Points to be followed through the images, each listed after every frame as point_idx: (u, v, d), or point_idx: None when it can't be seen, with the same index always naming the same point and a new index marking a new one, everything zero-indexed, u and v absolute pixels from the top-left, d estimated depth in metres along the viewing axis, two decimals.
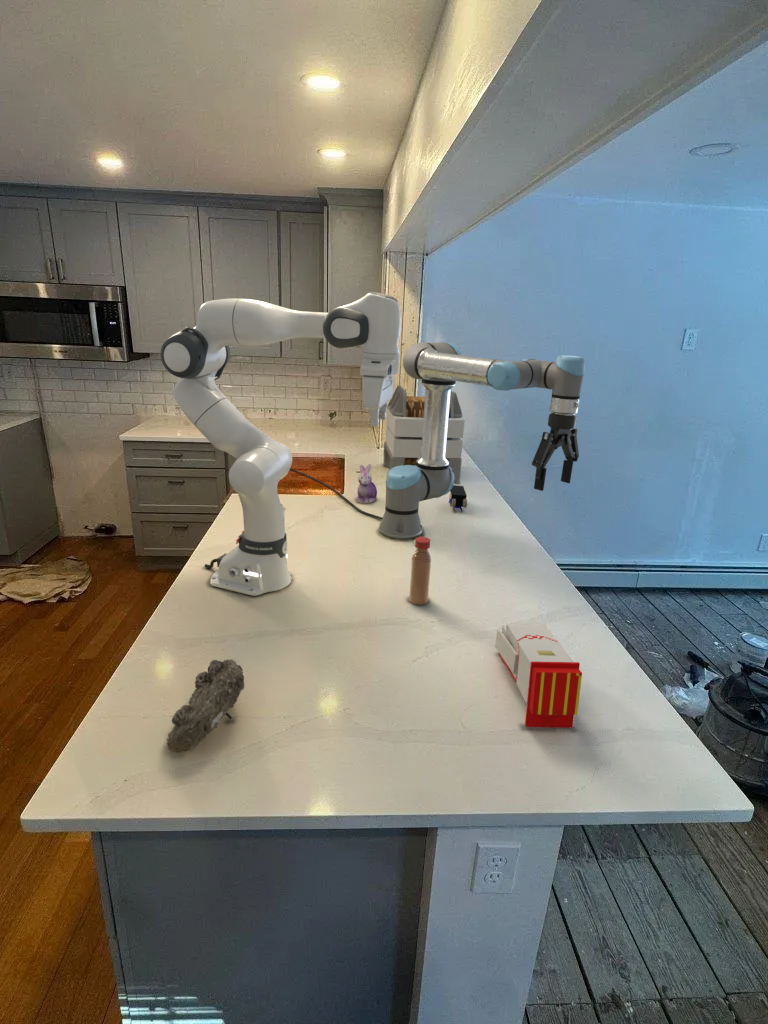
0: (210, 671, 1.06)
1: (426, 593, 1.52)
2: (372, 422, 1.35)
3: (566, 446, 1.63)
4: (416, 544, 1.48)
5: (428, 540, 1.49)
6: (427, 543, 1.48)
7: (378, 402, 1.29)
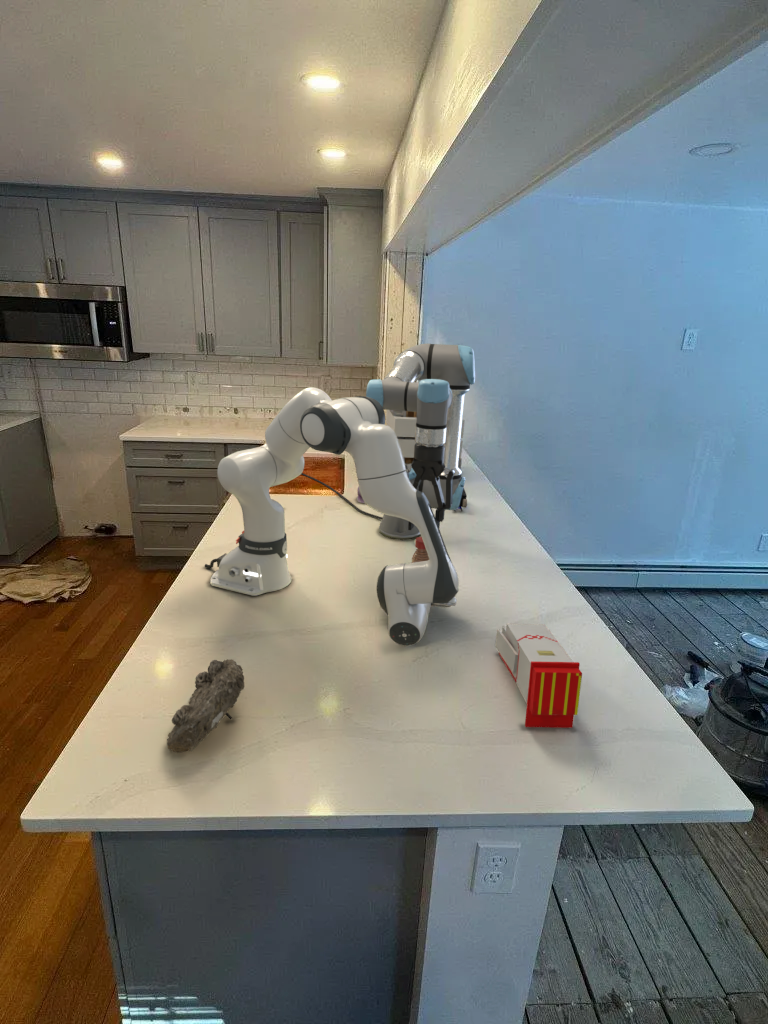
0: (210, 671, 1.06)
1: None
2: None
3: (420, 481, 1.45)
4: (416, 544, 1.48)
5: None
6: None
7: None
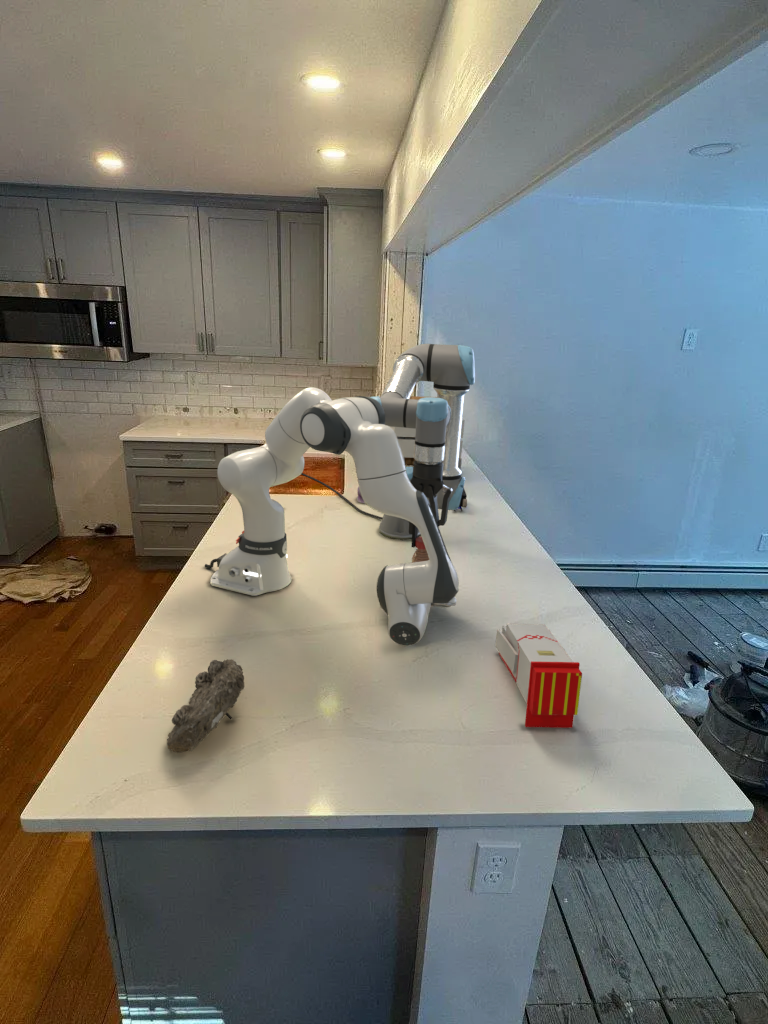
0: (210, 671, 1.06)
1: None
2: None
3: None
4: (416, 544, 1.48)
5: None
6: None
7: None
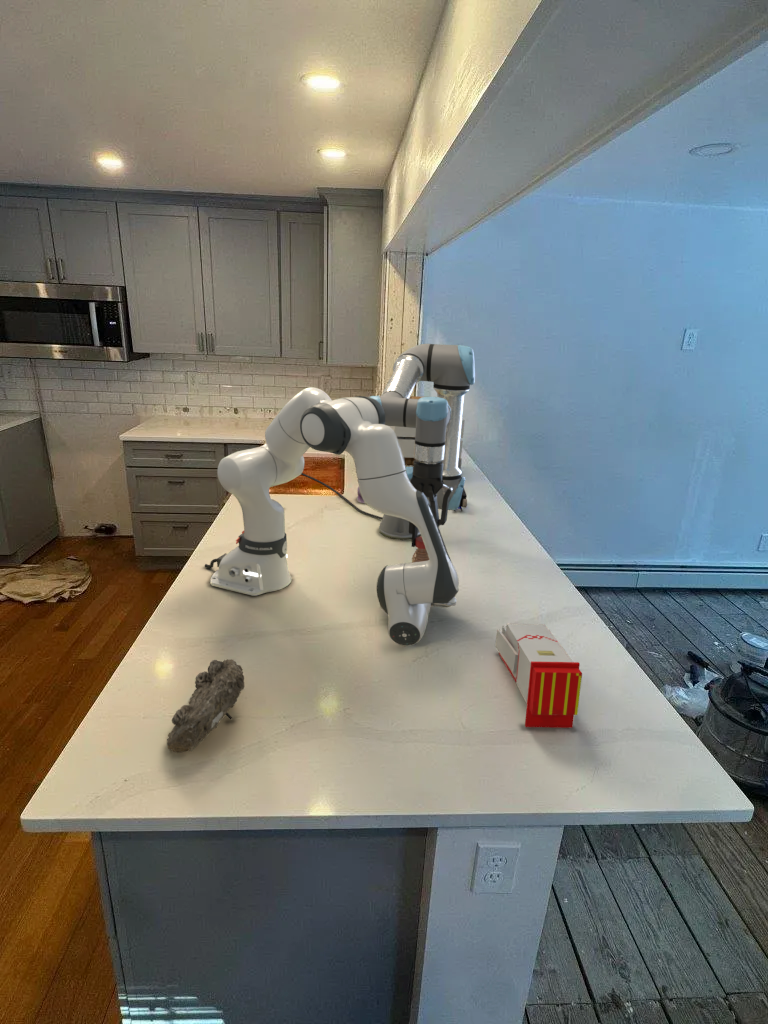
0: (210, 671, 1.06)
1: None
2: None
3: None
4: None
5: None
6: None
7: None
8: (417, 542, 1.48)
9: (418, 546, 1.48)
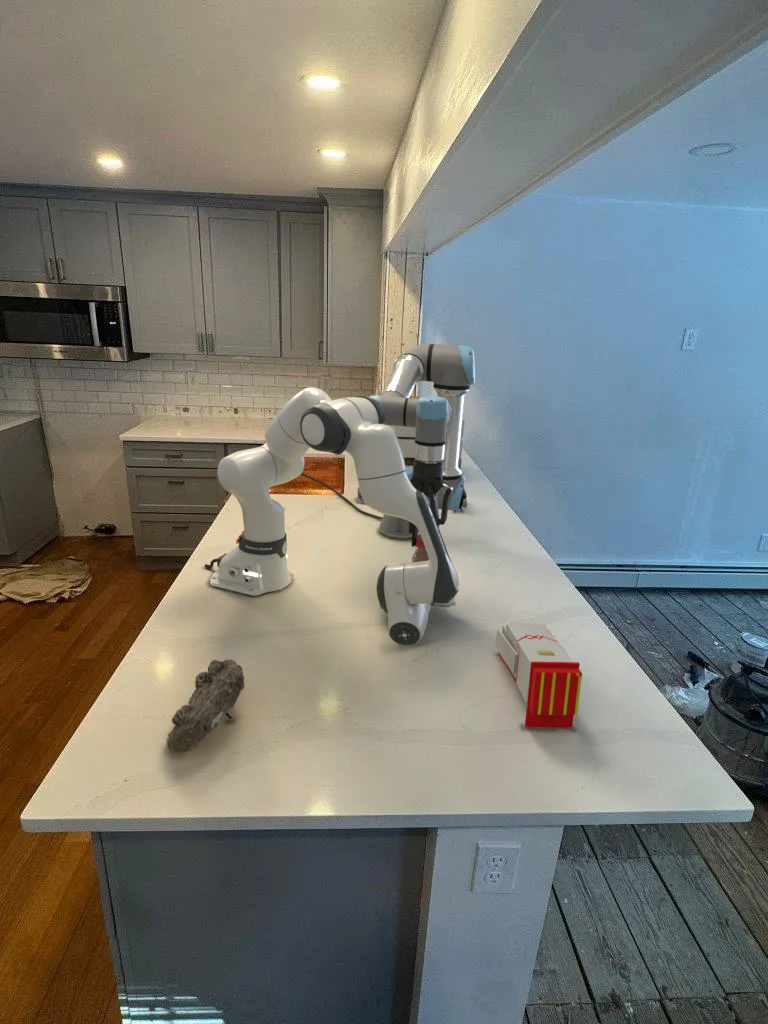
0: (210, 671, 1.06)
1: None
2: None
3: None
4: None
5: (417, 539, 1.48)
6: None
7: None
8: None
9: None
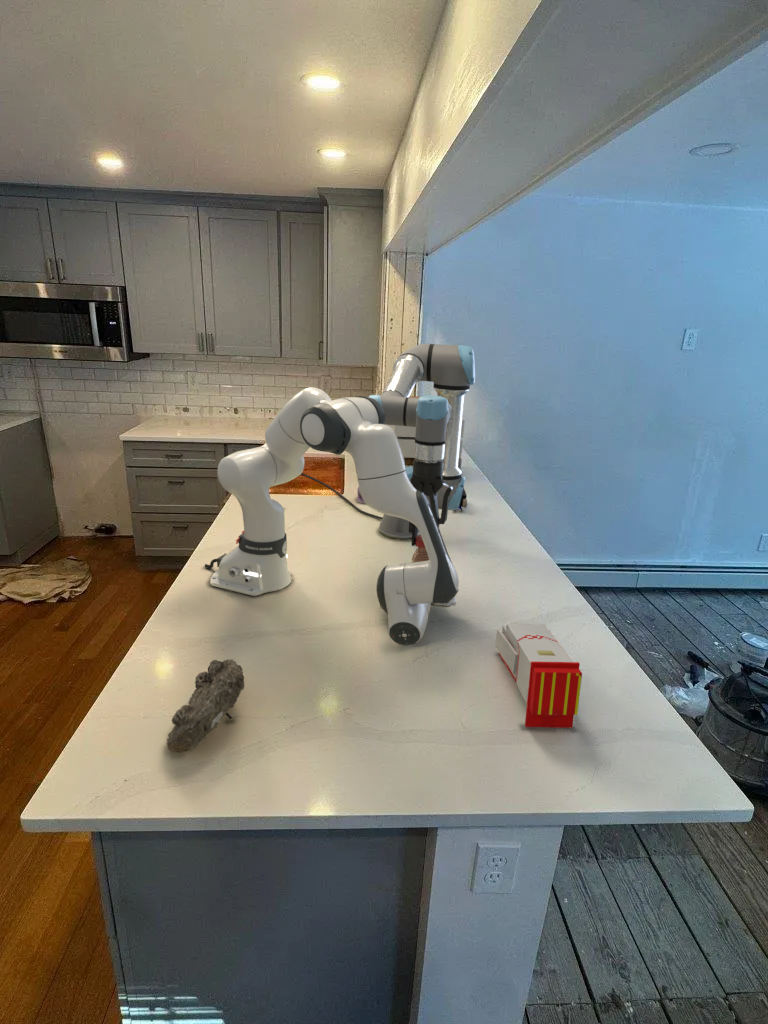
0: (210, 671, 1.06)
1: None
2: None
3: None
4: (415, 541, 1.49)
5: None
6: None
7: None
8: None
9: None
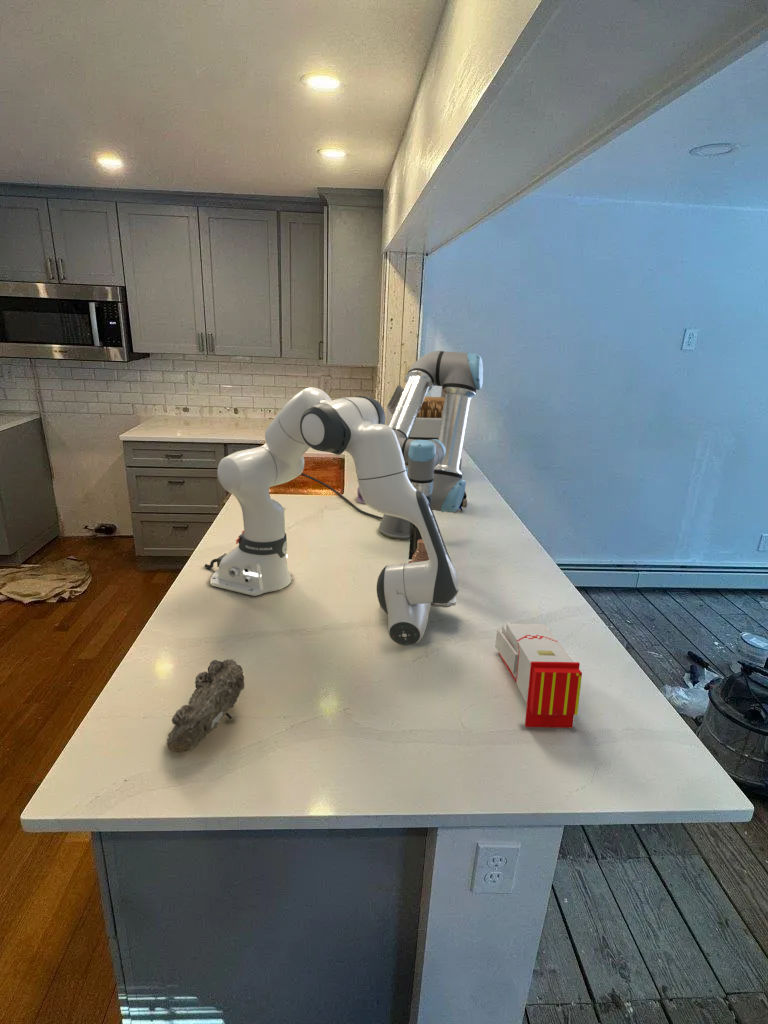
0: (210, 671, 1.06)
1: None
2: None
3: None
4: None
5: None
6: None
7: None
8: None
9: None
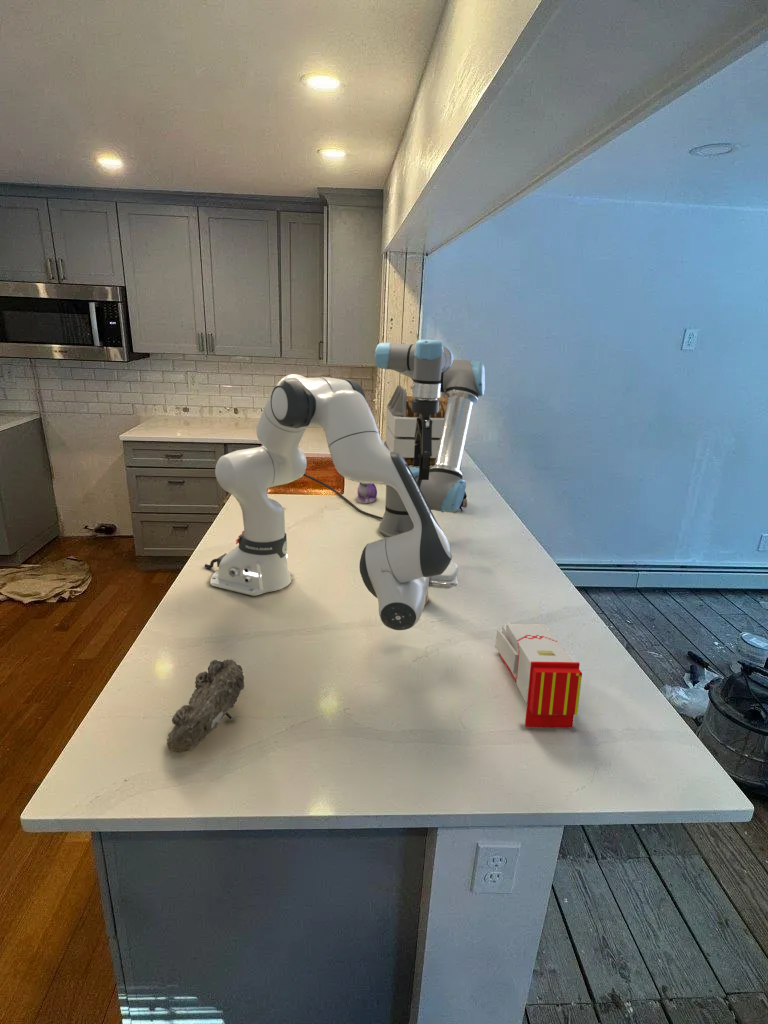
0: (210, 671, 1.06)
1: None
2: None
3: None
4: None
5: None
6: None
7: None
8: None
9: None
